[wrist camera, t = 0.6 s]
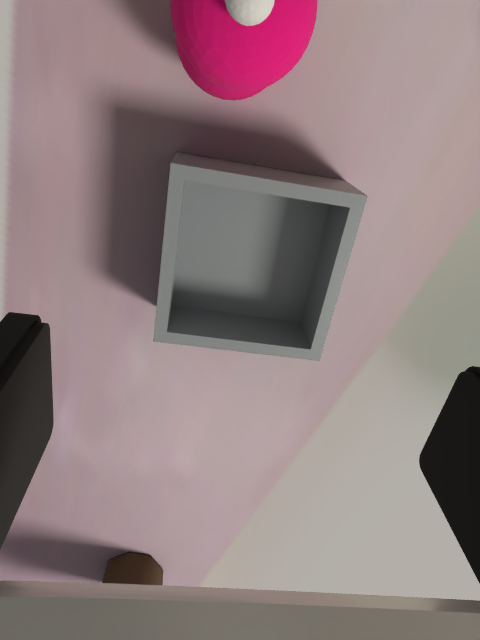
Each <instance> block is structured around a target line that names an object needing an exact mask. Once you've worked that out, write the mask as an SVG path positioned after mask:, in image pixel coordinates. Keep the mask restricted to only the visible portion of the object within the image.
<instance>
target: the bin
mask: <svg viewBox="0 0 480 640" xmlns="http://www.w3.org/2000/svg"><path fill="white" fill-rule="evenodd" d="M366 199H367V195H365V194H364V193H362V192H361V191H360V190H358V189H357V188H355V187H354V186H352V185H351V184H350V183H348V182H347V181H345V180H339V179H333V178H327V177H321V176H316V175H310V174H304V173H298V172H292V171H286V170H281V169H275V168H269V167H263V166H257V165H251V164H246V163H240V162H234V161H228V160H222V159H216V158H210V157H205V156H199V155H193V154H187V153H181V152H176V154H175V156H174V158H173V160H172V161H171V164H170V175H169V185H168V195H167V206H166V216H165V226H164V236H163V247H162V257H161V267H160V277H159V288H158V298H157V308H156V318H155V329H154V339H153V341H154V342H163V343H171V344H180V345H188V346H197V347H205V348H214V349H222V350H231V351H239V352H247V353H256V354H264V355H273V356H281V357H290V358H298V359H307V360H315V361H319V360H320V357H321V353H322V350H323V347H324V343H325V340H326V336H327V333H328V329H329V326H330V323H331V319H332V316H333V312H334V309H335V305H336V302H337V299H338V295H339V292H340V288H341V285H342V281H343V278H344V275H345V271H346V268H347V264H348V261H349V257H350V254H351V251H352V247H353V244H354V240H355V237H356V233H357V230H358V227H359V223H360V220H361V216H362V213H363V209H364V206H365V203H366Z"/></svg>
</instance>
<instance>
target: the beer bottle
mask: <svg viewBox="0 0 480 640" xmlns="http://www.w3.org/2000/svg"><path fill="white" fill-rule="evenodd" d="M162 582H163V569H162V567H161V566H160V565H159V564H158V563H157V562H156V561H155V560H154V559H153V558H152V556H150V555H144V554H138V553H132V552H128V553H126V554H123V555H120V556H118V557H115V558H112V559H110V561H109V563H108V566H107V569H106V572H105V575H104V578H103V581H102V583H115V584H138V585H161V586H162Z"/></svg>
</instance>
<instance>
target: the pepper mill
mask: <svg viewBox="0 0 480 640" xmlns="http://www.w3.org/2000/svg"><path fill="white" fill-rule="evenodd" d="M316 13H317V0H171V15H172V22H173V28H174V31H175V34H176V43H177V50H178V53H179V57H180V60H181V62H182V64H183V67H184V69H185V70H186V72H187V74H188V75H189V77H190V78H191V79H192V80H193V81H194V83H195V84H196V85H197V86H199V87H200V88H201V89H202V90H203V91H205V92H207V93H208V94H210V95H212V96H214V97H218V98H221V99H225V100H240V99H245V98H248V97H251V96H253V95H255V94H257V93H259V92H260V91H262V90H263V89H264V88H266V87H267V86H270V85H271V84H273V83H275V82H276V81H278V80H280V79H281V78H282V77H284V76H285V75H286V74H287V73H288V72H289V71H291V70H292V68H293V67H294V66H295V65H296V64H297V62H298V61H299V60H300V58H301V57H302V55H303V53H304V52H305V50H306V48H307V46H308V44H309V41H310V38H311V36H312V33H313V29H314V25H315V21H316Z"/></svg>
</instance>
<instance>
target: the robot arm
mask: <svg viewBox="0 0 480 640" xmlns="http://www.w3.org/2000/svg"><path fill="white" fill-rule="evenodd" d="M52 429H53V397H52V371H51V345H50V327H49V324H48V323H41V319H40V317H39V316H38V315H30V314H21V313H13V312H9V313H8V314H7V315H6V316H5V317H4V318H3V319H2V321H1V322H0V549H1V547H2V544H3V542H4V540H5V538H6V535H7V533H8V531H9V529H10V526H11V524H12V522H13V520H14V517H15V515H16V513H17V511H18V508H19V506H20V504H21V502H22V499H23V497H24V495H25V493H26V491H27V488H28V486H29V484H30V482H31V479H32V477H33V475H34V473H35V470H36V468H37V466H38V464H39V461H40V459H41V457H42V455H43V452H44V450H45V448H46V446H47V443H48V441H49V439H50V436H51V433H52ZM419 463H420V468H421V470H422V472H423V474H424V476H425V478H426V480H427V482H428V484H429V486H430V488H431V490H432V492H433V494H434V495H435V498H436V500H437V501H438V503H439V505H440V507H441V509H442V511H443V513H444V515H445V517H446V519H447V521H448V523H449V525H450V527H451V529H452V531H453V533H454V535H455V536H456V538H457V540H458V542H459V544H460V546H461V548H462V550H463V552H464V554H465V556H466V558H467V560H468V562H469V563H470V566H471V568H472V570H473V572H474V573H475V575H476V577H477V579H478V581H479V583H480V367H474V366H472V367H469V368H468V369H467V370H466V371H464V372H461V373H460V374H459V375H458V377H457V379H456V381H455V383H454V385H453V387H452V390H451V392H450V394H449V396H448V398H447V400H446V402H445V404H444V406H443V408H442V410H441V412H440V414H439V417H438V418H437V421H436V423H435V425H434V427H433V429H432V431H431V433H430V435H429V437H428V439H427V441H426V443H425V446H424V448H423V450H422V452H421V454H420V459H419ZM0 640H480V601H474V600H456V599H438V598H418V597H416V598H415V597H398V596H377V595H358V594H337V593H315V592H296V591H275V590H253V589H230V588H207V587H184V586H161V585H138V584H115V583H77V582H38V581H0Z"/></svg>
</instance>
